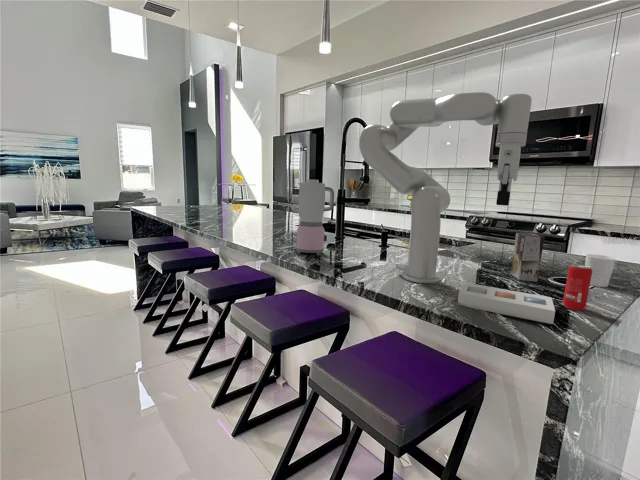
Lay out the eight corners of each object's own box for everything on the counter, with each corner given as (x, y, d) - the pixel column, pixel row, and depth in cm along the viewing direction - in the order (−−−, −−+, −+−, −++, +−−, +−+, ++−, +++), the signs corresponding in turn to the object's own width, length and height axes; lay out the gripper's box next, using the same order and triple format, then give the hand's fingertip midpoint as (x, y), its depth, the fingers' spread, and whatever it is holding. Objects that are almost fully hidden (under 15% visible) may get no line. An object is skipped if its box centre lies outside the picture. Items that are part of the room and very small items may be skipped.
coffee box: (538, 282, 121) (545, 236, 118) (518, 280, 122) (525, 235, 119) (528, 275, 130) (534, 233, 127) (509, 273, 131) (515, 231, 128)
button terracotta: (495, 303, 93) (496, 294, 93) (496, 299, 97) (497, 290, 96) (512, 307, 91) (513, 297, 91) (512, 302, 95) (513, 293, 94)
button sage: (467, 298, 97) (468, 289, 96) (469, 294, 100) (470, 286, 100) (483, 301, 95) (484, 292, 94) (484, 297, 98) (485, 288, 98)
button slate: (525, 309, 90) (526, 300, 89) (524, 305, 93) (526, 295, 93) (543, 313, 88) (544, 303, 87) (542, 308, 91) (543, 299, 91)
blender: (294, 255, 147) (296, 179, 141) (296, 249, 159) (299, 179, 153) (331, 256, 146) (335, 180, 141) (330, 250, 158) (334, 180, 153)
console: (457, 304, 94) (458, 292, 94) (463, 293, 105) (464, 282, 104) (553, 324, 84) (555, 311, 83) (549, 309, 94) (551, 297, 93)
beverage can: (557, 304, 98) (564, 263, 96) (574, 304, 99) (581, 263, 97) (572, 311, 93) (580, 268, 91) (590, 311, 94) (598, 268, 92)
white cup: (603, 282, 124) (609, 255, 122) (614, 289, 116) (619, 260, 114) (577, 280, 126) (582, 253, 124) (586, 285, 119) (591, 257, 117)
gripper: (526, 137, 90) (516, 207, 93) (525, 143, 103) (517, 205, 106) (494, 138, 94) (486, 205, 97) (497, 144, 107) (490, 203, 110)
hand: (502, 205), depth 101 cm, fingers closed
